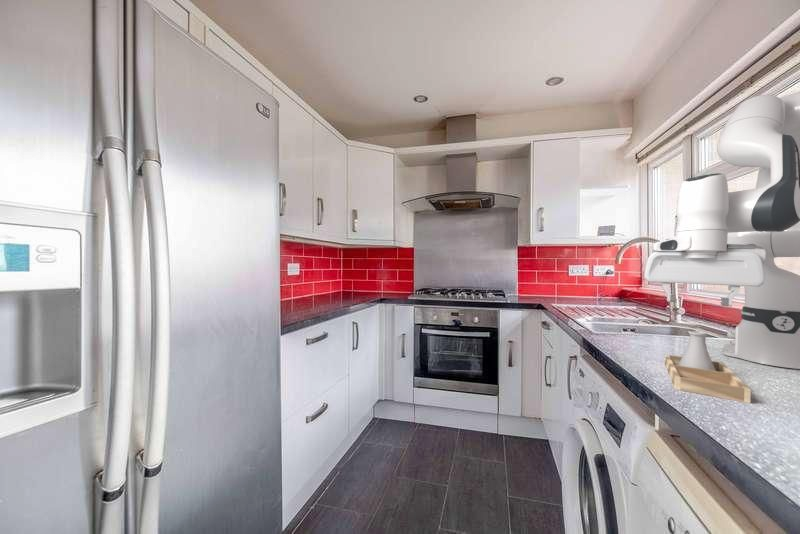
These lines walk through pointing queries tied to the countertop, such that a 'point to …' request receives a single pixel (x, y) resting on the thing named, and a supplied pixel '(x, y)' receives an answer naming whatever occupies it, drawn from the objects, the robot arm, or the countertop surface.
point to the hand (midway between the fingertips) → (697, 303)
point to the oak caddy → (707, 380)
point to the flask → (697, 352)
